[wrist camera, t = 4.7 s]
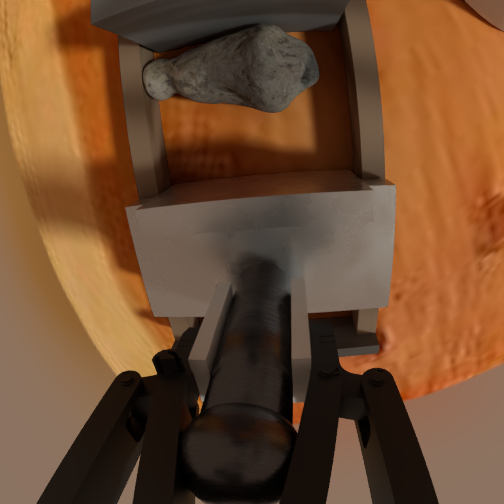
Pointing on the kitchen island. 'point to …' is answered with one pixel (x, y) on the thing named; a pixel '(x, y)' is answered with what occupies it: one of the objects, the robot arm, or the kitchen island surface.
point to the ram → (259, 301)
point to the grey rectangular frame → (221, 24)
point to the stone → (238, 70)
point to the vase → (489, 11)
